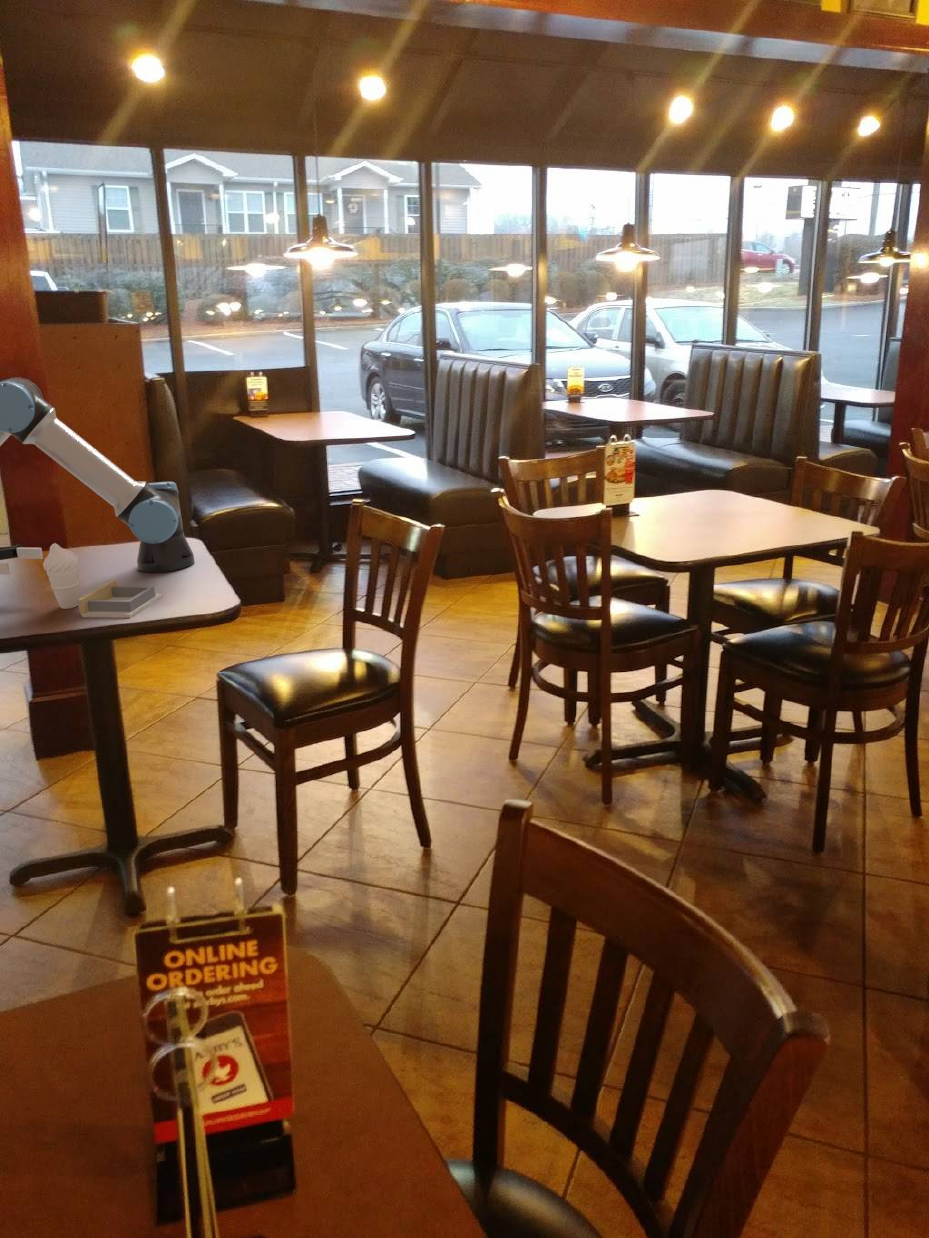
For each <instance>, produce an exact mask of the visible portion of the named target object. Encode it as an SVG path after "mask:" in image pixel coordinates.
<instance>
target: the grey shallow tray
mask: <svg viewBox="0 0 929 1238" xmlns="http://www.w3.org/2000/svg"><path fill="white" fill-rule="evenodd" d="M162 597H163V594H162V593H156V590H155V586H154V585H153V586H145V585H144V586H140V585H138V586H137V585H136V586H134V585H133V586H132V585H125V586H124V585H121V586H119V585H118V580H117V579H112V580H110V581H108V582H106V583H104V584H103V585H101V586H99V587H98V588H96V589H94V590H92V591H90V592H89V593H87V594H85V595H84V596H81V597H80V598H79V599H78V610H79V615H81V618H105V619H106V618H107V619H109V618H112V619H114V618H116V619H117V618H119V619H120V618H122V619H126V618H127V619H130V618H132V617H134V616H135V615H136V614H139V613H140V612H142V611H143V610H145V609H146V608H147V607H149V606H150V605H152V604H154V603H155V602H157V601H158V600H159V599H161V598H162ZM133 615H134V616H133Z"/></svg>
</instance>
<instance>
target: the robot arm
mask: <svg viewBox="0 0 929 1238" xmlns="http://www.w3.org/2000/svg"><path fill="white" fill-rule="evenodd" d="M10 436H13V437H14V438H15V439H17V441H19V442H21V443H22V444H23V445H35V446H36V447H37V449H39V450H41V451H42V452H43V453H44V454H45V455H47V456H48V457H50V458H51V459H52V460H53V461H54V462H56V463H57V464H59V465H60V466H61V467H62V468H63V469H65V470H66V471H68V472H69V473H70V474H71V475H73V477H75V478H76V479H78V480H79V481H80V482H82V483H83V484H84V485H85V486H87V487H88V488H89V489H90V490H92V491H93V492H94V493H96V494H97V496H100V497H101V498H102V499H103V500H104V501H106V502H107V503H108V504H109V505H111V506H112V507H113V509H114V515H115V517H117V518H118V519H119V520H120V521H122V522H123V523H124V524H126V525H127V526H128V527H129V529H130V531H131V532H132V534H133V535H134V536H135V538H137V539H138V540H139V548H138V553H137V558H136V563H137V569H138V571H141V572H142V573H143V572H144V573H164V572H165V573H167V572H172V571H178V570H177V569H179V570H182V569H185V568H184V567H186V568H188V567H191V566H192V565H193V564H195V555H194V552H193V551H192V548H191V546H190V545H189V542H188V540H187V538H186V536H185V533H184V526H183V519H182V513H181V506H180V499H179V498H180V497H179V490H178V487H177V483H176V482H174V481H160V482H159V481H158V482H149V483H148V482H147V481H146V480H145V481H143V480H142V481H141V480H139V481H137V480H135V479H134V478H133V477H131V476H130V475H129V474H127V473H126V472H125V471H124V470H122V469H121V468H120V467H119V466H117V465H116V464H115V463H114V462H113V461H111V460H110V459H108V457H106V456H105V455H104V454H102V453H101V452H100V451H99V450H98V449H96V448H95V447H94V446H92V444H90V443H89V442H88V441H86V439H84V438H83V437H81V436H80V435H79V434H78V433H76V432H75V431H73V429H71V428H70V427H69V426H67V424H65V423H64V422H62V421H61V420H60V419H59V418H58V417H57V412H56V408H55V407H53V405H51V404H50V403H49V402H48V401H47V400H45V399H44V396H43V394H42V391H41V390H40V388H39V387H38V386H37V384H36V383H34V382H32V381H31V379H27V378H24V377H19V376H14V377H13V376H12V377H9V378H5V379H3V380H0V447H1V446H2V445H3V444H4V443H5V442H6V441H7V440H8V438H9V437H10ZM11 559H18V560H20V559H21V560H43V559H44V554H43V549H42V547H23V546H22V545H21V544H19V543H16V545H10V546H7V545H6V546H0V561H3V560H11ZM187 566H188V567H187ZM181 568H182V569H181ZM10 574H11V570H10V564H9V562H0V575H10Z"/></svg>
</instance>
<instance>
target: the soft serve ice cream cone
mask: <svg viewBox="0 0 929 1238" xmlns="http://www.w3.org/2000/svg"><path fill="white" fill-rule="evenodd" d="M79 563H80V558H79V556H78V555H77V554H76V553H75V552H73V551H72V550H70V549H67V548H63V547H61V546H60V545H59V544H57V543H56V542H54V543H52V544H51V545H50V547H49V552H48V555H47V556H46V557H45V558H44V561H43V563H42V566H43V570H44V571H46V575H47V576H48V579H49V583H50V588H51V590H52V592H53V594H54V596H55V598H56V601H57V603H58V606H59V608H60V609H65V610H67V609H74V608H76V607H77V606H78V599H80V598H79V595H80V591H79V590H80V583H81V582H80V580H79V579H80V578H79V571H80V569H79ZM78 607H79V606H78Z"/></svg>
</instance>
